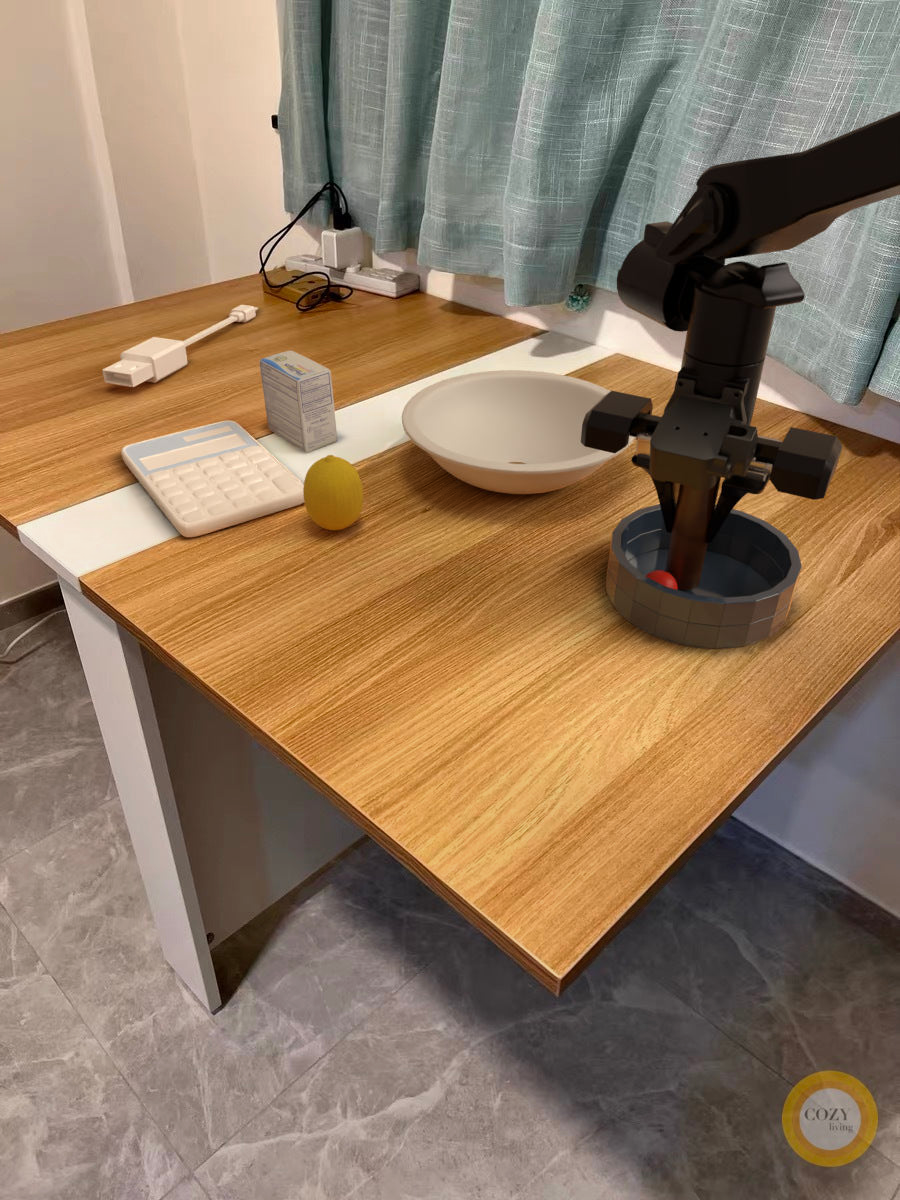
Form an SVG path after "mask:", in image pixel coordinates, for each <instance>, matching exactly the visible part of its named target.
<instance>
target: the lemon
mask: <svg viewBox="0 0 900 1200" xmlns="http://www.w3.org/2000/svg"><path fill="white" fill-rule="evenodd" d="M303 484H304V488H303V493H304V503H303V504H304V506H305V510H306V512H307V514H308V515H309V518H310V519H311V520H312V521H313V522H314V523H315V524H316V525H317V526H319V527H320V528H323V529H326V530H328V531H329V530H330V531H333V532H334V531H335V532H338V531H341V530H344V529H346V528H349V527H350V526H352V525H353V524H354V523H355V522H356V521H357V520H358V519H359V517H360V515H361V513H362V510H363V507H364V496H365V493H364V487H363V483H362V480H361V477H360V475H359V473H358V470H357V469H356V467H355V466H354V465H353V464H352V463H351V462H349V461H348V460H347V459H345V458H343V457H339V456H335V455H333V454H327V455H326V456H325V457H322V458H320V459H317V460H316V461H315V462H313V464H312V465H311V466H310V467H309V468H308V470H307V472H306V475H305V477H304V482H303Z"/></svg>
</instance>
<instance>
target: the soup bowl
mask: <svg viewBox="0 0 900 1200" xmlns="http://www.w3.org/2000/svg"><path fill="white" fill-rule="evenodd" d="M610 391H611V390H609V389H607V388H605V387H603V386H601V385H599V384H597V383H593V382H591V381H588V380H584V379H582V378H578V377H573V376H569V375H564V374H558V373H554V372H547V371H546V372H545V371H536V370H520V369H519V370H517V369H510V370H509V369H508V370H507V369H506V370H505V369H503V370H489V371H479V372H472V373H467V374H461V375H457V376H452V377H449V378H446V379H443V380H440V381H438V382H435V383H432V384H431V385H428V386H427V387H425V388H422V389H421V390H420V391H418V392H417V393H415V394H414V395H412V396H411V398H410V399H409V400H408V401H407V402H406V404H405V405H404V408H403V410H402V414H401V425H402V427H403V430H404V432H405V434H406V436H407V437H408V438H409V440H410V441H411V442H412V443H414V445H416V446H417V447H418V448H420V449H421V450H423V452H425V453H427V454H429V456H430V457H431V459H433V461H435V462H436V464H438V465H439V466H440V467H441V468H442V469H443V470H445V471H446V472H447V473H449V474H450V475H451V476H453V477H454V478H456V479H458V480H460V481H462V482H464V483H466V484H469V485H471V486H473V487H476V488H480V489H481V490H485V491H489V492H490V491H491V492H495V493H502V494H512V495H533V494H541V493H548V492H553V491H557V490H561V489H564V488H567V487H569V486H572V485H574V484H576V483H579V482H581V481H582V480H584V479H586V478H588V477H589V476H591V475H592V474H594V473H595V472H596V471H597V470H599V469H600V468H601V467H603V465H604V464H606V462H607V461H610V460H611V459H613V458H615V457H617V456H619V455H620V454H622V453H623V452H624V451H625V450H627V449H628V448H629V447H630V446H631V445H632V444H633V442H634V441H635V440H636V437H633V436H629V442H628V445H627V446H626V447H624V448H623V449H621V450H620V451H618V452H617V453H611V452H606V451H602V450H598V449H593V448H589V447H585V446H584V445H583V444H582V443H581V432H582V423H583V420H584V418H585V415H586V413H587V412H588V411H589V410H590V409H591V408H592V407H593V406H594V405H595V404H597V403H598V402H599V401H600V400H601V399H602V398H603V397H604V396H605V395H606V394H608V393H609V392H610Z"/></svg>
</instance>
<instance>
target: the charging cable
mask: <svg viewBox="0 0 900 1200" xmlns="http://www.w3.org/2000/svg"><path fill="white" fill-rule="evenodd" d="M258 309H259V307H258V306H253V305H248V304H247V305H246V304H240V305H238V306H236V307H234V308H232V309H230V313H229V314H228V317H227V318H225V319H223V320H221V321H219V322H217V323H215V324H213V325H211V326H209V327H207V328H205V329H204V330H201V331H200V332H198V333H195V334H194V335H192V336H190V337H188V338H186V339H184V340H179V339H171V338H164V337H157V336H152V337H150V338H148V339H147V340H145V341H143V342H140V343H138V344H136V345H134V346H132V347H130V348H128V349H126V350H124V351H122V352H121V353H119V357H120V360H119V361H117V362H115V363H113V364H111V365H109V366H107V367H104V368H103V369H101V370H102V371H101V372H102V377H103V380H104V383H105V384H110V385H111V384H112V385H116V386H123V387H130V388H134V387H136V386H138V385H140V384H142V383H144V382H149V383H157V382H159V381H161V380H163V379H165V378H167V377H168V376H171V375H172V374H174V373H175V372H177V371H179V370H181V369H183V368H185V367H186V366H187V365H188V364H189V362H188V356H187V350H186V349H187V347H189V346H190V345H192V344H194V343H196V342H198V341H199V340H202V339H204V338H206V337H207V336H209V335H211V334H213V333H215V332H216V331H219V330H220V329H222V328H225V327H226V326H228V325H230V324H232V323H234V322H237V323H247V322H249V321H250V320H252V319H254V318H256V316H257V313H256V311H258Z"/></svg>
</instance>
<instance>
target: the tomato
mask: <svg viewBox="0 0 900 1200" xmlns="http://www.w3.org/2000/svg"><path fill="white" fill-rule="evenodd" d="M646 577H648V578H650V579H652V580H654V581H656V582H658V583H660V584H662V585H664V586H666V587H669V588H672V589H676V590H677V589H678V588H677V582H676V580H675V578H674V577H673V576H672V575H671V574H670V573H668V572H666V571H662V570H656V571H652V572H650V573H648V574H647V575H646Z"/></svg>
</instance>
